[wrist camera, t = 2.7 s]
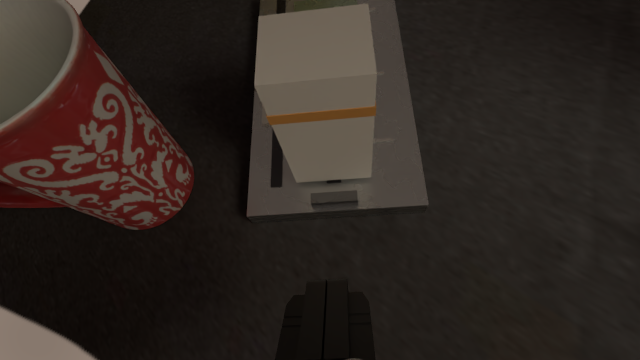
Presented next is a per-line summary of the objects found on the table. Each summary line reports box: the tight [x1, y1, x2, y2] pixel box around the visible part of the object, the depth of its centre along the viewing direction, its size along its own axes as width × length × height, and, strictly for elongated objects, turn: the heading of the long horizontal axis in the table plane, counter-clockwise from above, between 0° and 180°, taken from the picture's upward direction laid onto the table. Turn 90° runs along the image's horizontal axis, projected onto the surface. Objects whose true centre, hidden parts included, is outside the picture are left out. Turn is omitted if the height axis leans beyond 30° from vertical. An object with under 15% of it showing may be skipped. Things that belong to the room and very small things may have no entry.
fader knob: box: [254, 3, 377, 183], centre depth 19 cm, size 5×4×10 cm
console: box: [247, 0, 429, 223], centre depth 27 cm, size 12×22×2 cm, turn 2°
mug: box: [0, 0, 194, 230], centre depth 21 cm, size 13×9×14 cm
